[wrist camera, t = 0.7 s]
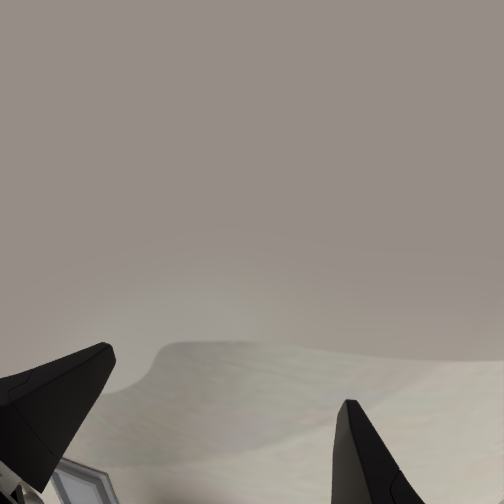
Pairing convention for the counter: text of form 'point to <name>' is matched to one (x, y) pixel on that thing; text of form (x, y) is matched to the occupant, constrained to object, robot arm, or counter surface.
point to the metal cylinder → (32, 498)
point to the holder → (81, 485)
